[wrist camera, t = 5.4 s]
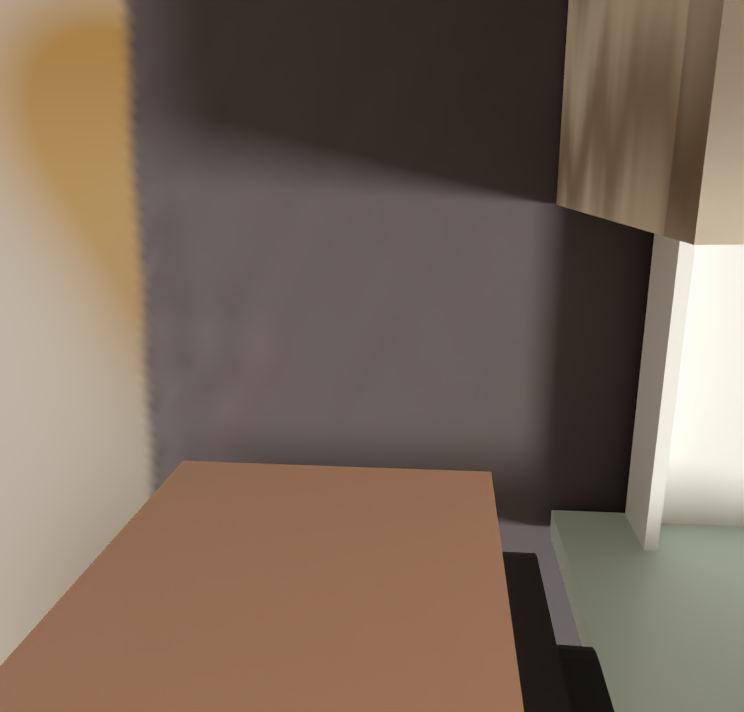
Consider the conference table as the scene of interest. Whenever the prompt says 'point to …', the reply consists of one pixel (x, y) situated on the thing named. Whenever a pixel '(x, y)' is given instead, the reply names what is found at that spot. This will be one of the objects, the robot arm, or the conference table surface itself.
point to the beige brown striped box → (656, 116)
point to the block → (285, 600)
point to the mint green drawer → (673, 503)
